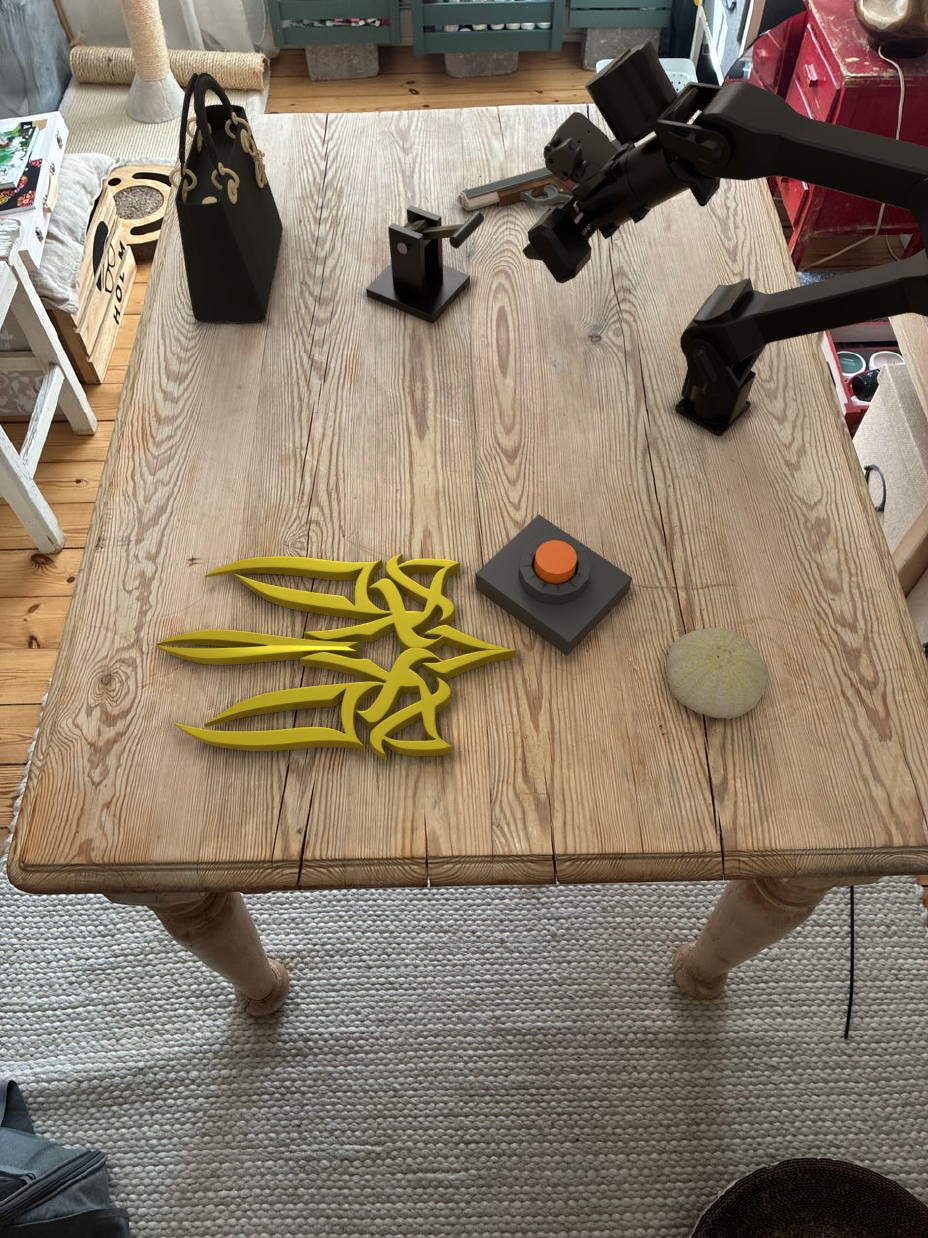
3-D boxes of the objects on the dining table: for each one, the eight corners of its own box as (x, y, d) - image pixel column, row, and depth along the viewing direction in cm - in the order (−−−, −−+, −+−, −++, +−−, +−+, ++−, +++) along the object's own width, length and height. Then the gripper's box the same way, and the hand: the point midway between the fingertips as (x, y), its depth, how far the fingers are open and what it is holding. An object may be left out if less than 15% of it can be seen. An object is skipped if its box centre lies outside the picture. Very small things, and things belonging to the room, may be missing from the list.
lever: (487, 225, 109) (480, 206, 108) (463, 251, 107) (455, 232, 105) (423, 232, 116) (415, 214, 114) (398, 257, 113) (390, 238, 111)
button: (583, 565, 92) (585, 555, 90) (557, 591, 90) (559, 580, 88) (551, 543, 93) (553, 533, 91) (526, 568, 91) (527, 558, 90)
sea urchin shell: (745, 739, 84) (703, 676, 81) (680, 732, 91) (638, 673, 88) (792, 668, 88) (753, 605, 85) (725, 665, 94) (687, 607, 91)
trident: (515, 757, 83) (128, 747, 84) (514, 764, 85) (133, 754, 86) (516, 555, 95) (176, 548, 96) (515, 564, 97) (180, 557, 97)
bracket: (470, 282, 120) (470, 214, 112) (432, 323, 116) (430, 256, 108) (405, 257, 123) (400, 188, 115) (366, 296, 119) (358, 228, 110)
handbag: (265, 329, 116) (220, 134, 94) (192, 328, 116) (131, 133, 94) (285, 225, 126) (248, 29, 105) (219, 225, 127) (169, 28, 105)
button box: (628, 592, 95) (635, 566, 91) (567, 656, 91) (571, 632, 87) (537, 529, 99) (540, 502, 95) (475, 588, 95) (475, 562, 91)
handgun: (494, 252, 123) (456, 202, 129) (623, 213, 127) (581, 166, 133) (494, 238, 121) (456, 187, 127) (625, 199, 126) (582, 151, 131)
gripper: (643, 56, 92) (538, 131, 104) (553, 151, 83) (450, 221, 96) (700, 156, 96) (592, 217, 109) (619, 256, 88) (513, 310, 100)
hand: (538, 238), depth 103 cm, fingers open, 6 cm apart
